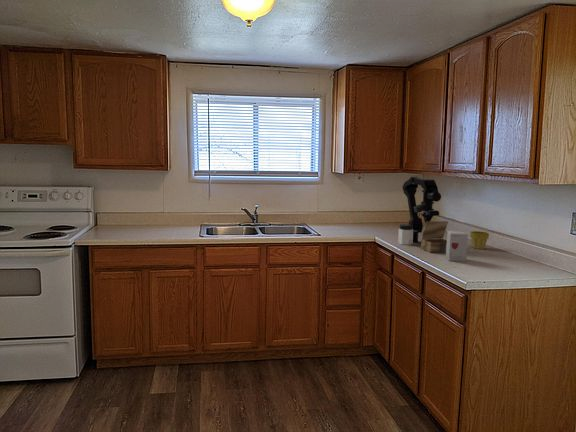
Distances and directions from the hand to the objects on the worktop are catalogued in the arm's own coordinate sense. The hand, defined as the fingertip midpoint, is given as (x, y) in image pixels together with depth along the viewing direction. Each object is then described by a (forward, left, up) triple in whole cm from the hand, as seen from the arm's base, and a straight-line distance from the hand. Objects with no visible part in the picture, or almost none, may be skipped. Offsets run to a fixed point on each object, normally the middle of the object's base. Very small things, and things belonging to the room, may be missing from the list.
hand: (426, 225), depth 297 cm
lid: (+9, +3, -1) cm, 10 cm away
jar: (-7, -12, -13) cm, 19 cm away
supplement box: (+36, +11, -13) cm, 40 cm away
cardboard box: (+12, +4, -13) cm, 18 cm away
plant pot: (-1, +32, -13) cm, 34 cm away
